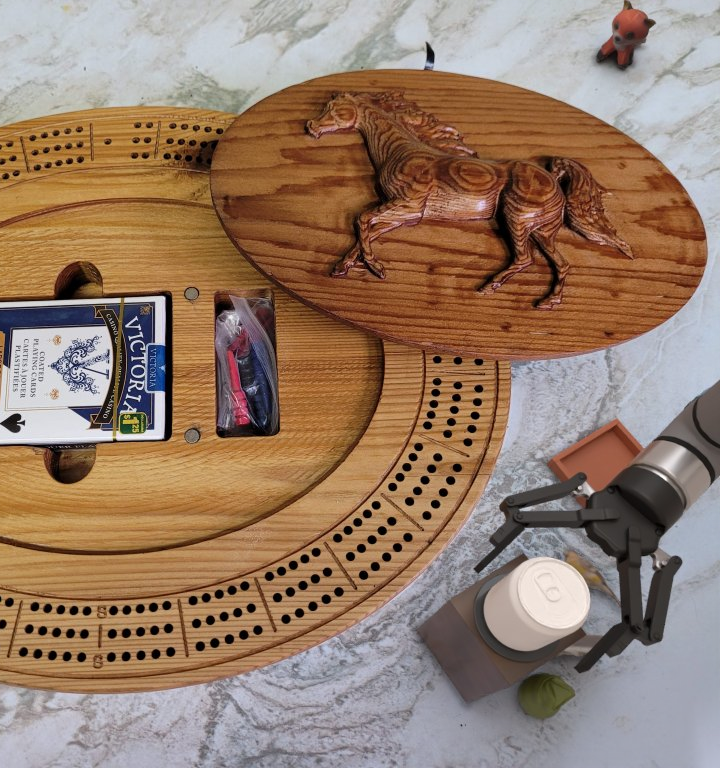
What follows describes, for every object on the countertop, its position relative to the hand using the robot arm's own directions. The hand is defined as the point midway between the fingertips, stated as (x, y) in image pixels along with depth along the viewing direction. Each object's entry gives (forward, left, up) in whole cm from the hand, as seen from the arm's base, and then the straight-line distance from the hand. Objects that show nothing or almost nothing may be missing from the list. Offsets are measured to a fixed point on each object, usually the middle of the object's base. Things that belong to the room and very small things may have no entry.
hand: (528, 617), depth 86 cm
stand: (+1, -2, -29) cm, 29 cm away
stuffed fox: (+74, -95, -29) cm, 124 cm away
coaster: (+1, -2, -9) cm, 9 cm away
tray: (+10, -34, -29) cm, 46 cm away
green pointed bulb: (-9, -5, -29) cm, 31 cm away
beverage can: (+1, -2, -8) cm, 9 cm away
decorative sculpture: (-3, -17, -29) cm, 34 cm away
